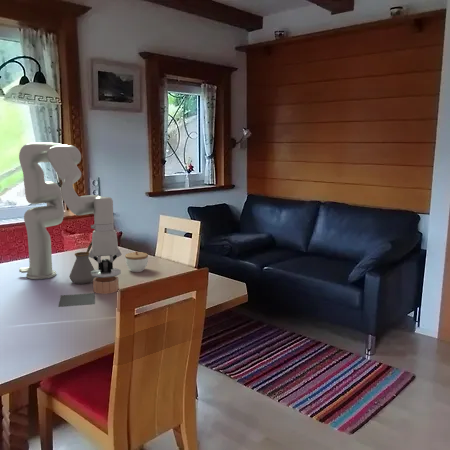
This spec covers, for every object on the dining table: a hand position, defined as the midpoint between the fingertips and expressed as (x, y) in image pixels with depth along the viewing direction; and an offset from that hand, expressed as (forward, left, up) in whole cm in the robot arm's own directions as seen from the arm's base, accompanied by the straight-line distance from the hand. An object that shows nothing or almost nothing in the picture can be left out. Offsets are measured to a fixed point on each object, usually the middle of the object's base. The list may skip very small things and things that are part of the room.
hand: (105, 270), depth 186 cm
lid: (0, 0, -1) cm, 1 cm away
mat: (-11, -10, -8) cm, 17 cm away
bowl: (0, 0, -8) cm, 8 cm away
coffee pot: (-8, +19, -9) cm, 22 cm away
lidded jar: (+15, +28, -9) cm, 33 cm away
